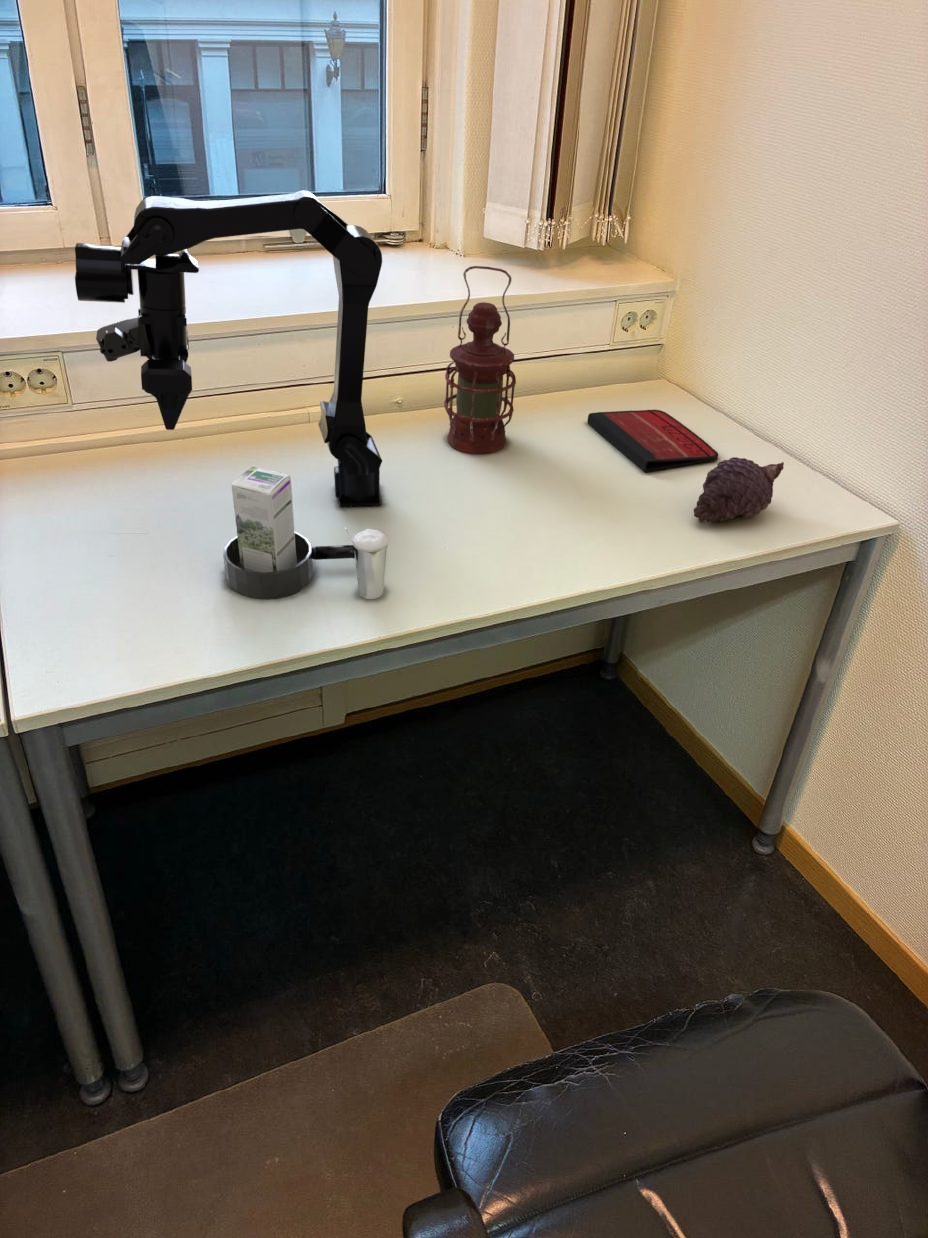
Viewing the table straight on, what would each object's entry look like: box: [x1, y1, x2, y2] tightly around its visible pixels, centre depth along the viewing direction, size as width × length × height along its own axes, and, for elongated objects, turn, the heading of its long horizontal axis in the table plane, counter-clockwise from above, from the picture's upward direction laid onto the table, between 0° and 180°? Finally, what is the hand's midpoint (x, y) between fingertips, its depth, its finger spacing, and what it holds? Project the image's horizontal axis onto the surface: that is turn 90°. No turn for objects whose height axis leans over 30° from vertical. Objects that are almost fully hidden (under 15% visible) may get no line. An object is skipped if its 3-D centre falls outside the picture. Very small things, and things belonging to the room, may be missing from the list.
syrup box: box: [231, 466, 297, 572], centre depth 121 cm, size 6×6×14 cm
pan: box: [222, 531, 314, 600], centre depth 125 cm, size 12×12×4 cm
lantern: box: [443, 265, 517, 455], centre depth 154 cm, size 12×12×30 cm
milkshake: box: [345, 527, 389, 600], centre depth 120 cm, size 4×5×10 cm
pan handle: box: [312, 544, 355, 561], centre depth 125 cm, size 10×2×2 cm, turn 99°
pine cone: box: [693, 456, 785, 523], centre depth 144 cm, size 18×10×10 cm
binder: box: [586, 409, 719, 473], centre depth 166 cm, size 16×2×21 cm
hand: (169, 415), depth 129 cm, fingers open, 9 cm apart
